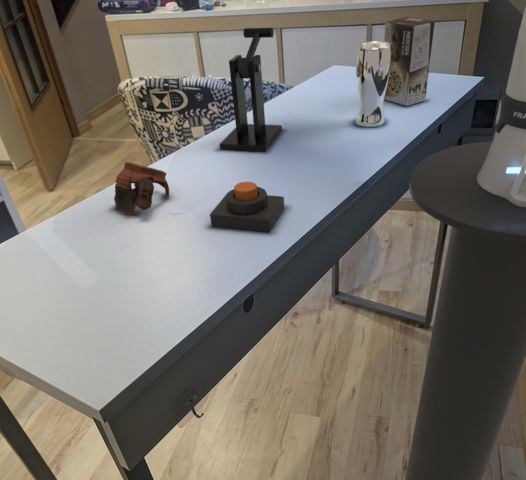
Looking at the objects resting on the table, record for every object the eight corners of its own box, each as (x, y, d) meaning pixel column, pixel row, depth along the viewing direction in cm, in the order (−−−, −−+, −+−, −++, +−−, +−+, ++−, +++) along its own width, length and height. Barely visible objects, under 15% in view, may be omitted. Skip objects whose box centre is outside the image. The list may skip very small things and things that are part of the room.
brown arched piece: (107, 205, 94) (114, 158, 92) (157, 215, 99) (165, 171, 96) (119, 214, 84) (127, 162, 82) (174, 226, 89) (184, 176, 86)
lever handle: (247, 35, 108) (244, 24, 106) (274, 35, 106) (272, 24, 104) (231, 78, 103) (227, 67, 101) (259, 78, 102) (256, 67, 100)
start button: (260, 192, 84) (259, 182, 83) (253, 202, 81) (252, 192, 80) (239, 190, 85) (238, 180, 84) (232, 200, 82) (230, 190, 81)
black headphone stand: (240, 129, 117) (231, 50, 106) (282, 130, 114) (278, 49, 104) (220, 149, 109) (209, 66, 98) (265, 152, 106) (259, 66, 95)
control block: (284, 208, 87) (283, 185, 84) (269, 232, 81) (268, 208, 79) (229, 204, 90) (226, 181, 87) (211, 226, 84) (207, 203, 82)
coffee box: (426, 100, 122) (436, 20, 111) (406, 107, 119) (414, 25, 109) (399, 92, 128) (406, 15, 117) (379, 98, 125) (384, 20, 115)
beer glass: (378, 114, 117) (383, 39, 107) (391, 124, 112) (398, 45, 102) (349, 119, 116) (351, 43, 106) (361, 130, 111) (365, 51, 101)
